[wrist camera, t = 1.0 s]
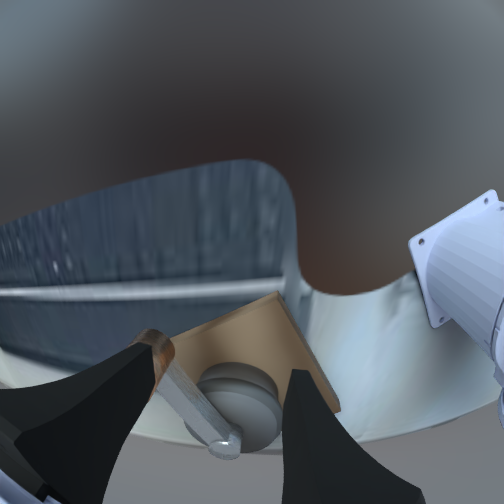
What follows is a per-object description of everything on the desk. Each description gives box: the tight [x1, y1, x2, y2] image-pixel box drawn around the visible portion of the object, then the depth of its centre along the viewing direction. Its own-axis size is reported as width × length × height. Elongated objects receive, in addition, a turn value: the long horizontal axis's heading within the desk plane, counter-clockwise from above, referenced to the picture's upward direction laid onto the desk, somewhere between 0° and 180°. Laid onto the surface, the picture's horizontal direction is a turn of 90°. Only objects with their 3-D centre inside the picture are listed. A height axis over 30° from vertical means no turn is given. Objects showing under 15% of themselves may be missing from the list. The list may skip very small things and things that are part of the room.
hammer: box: [127, 329, 244, 460], centre depth 13 cm, size 10×2×4 cm, turn 28°
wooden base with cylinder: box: [169, 290, 341, 453], centre depth 19 cm, size 13×12×6 cm
